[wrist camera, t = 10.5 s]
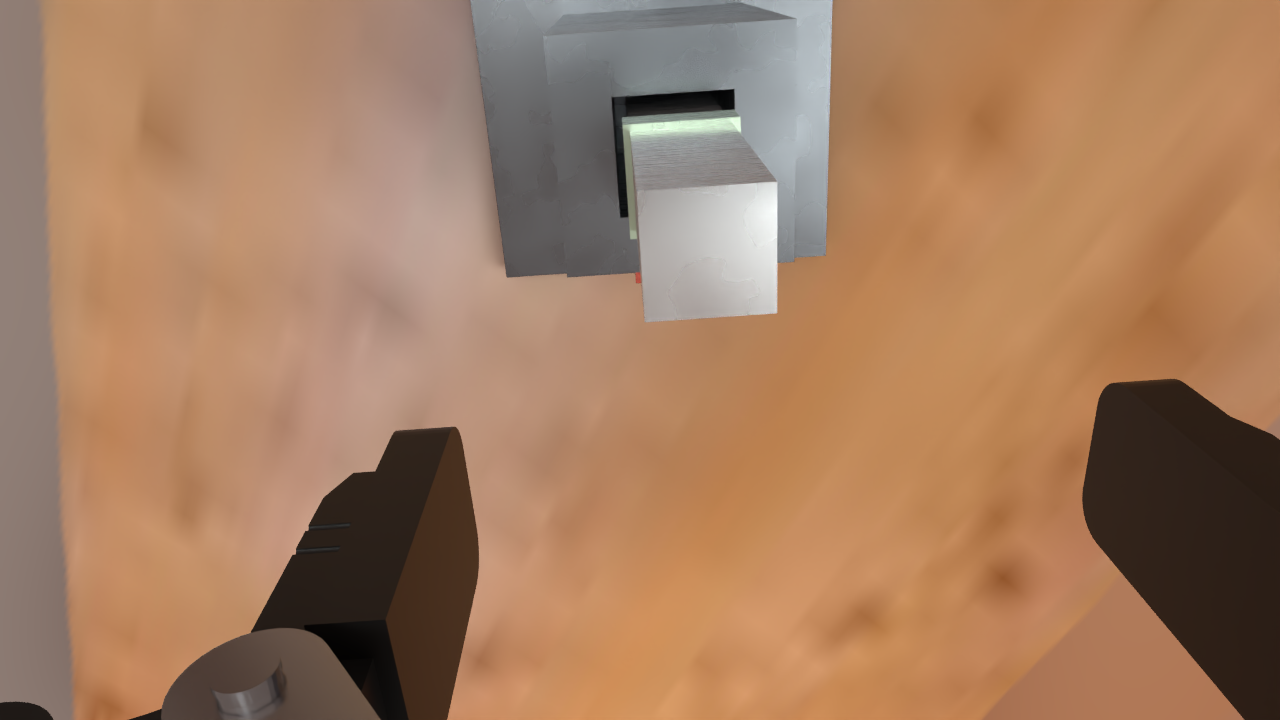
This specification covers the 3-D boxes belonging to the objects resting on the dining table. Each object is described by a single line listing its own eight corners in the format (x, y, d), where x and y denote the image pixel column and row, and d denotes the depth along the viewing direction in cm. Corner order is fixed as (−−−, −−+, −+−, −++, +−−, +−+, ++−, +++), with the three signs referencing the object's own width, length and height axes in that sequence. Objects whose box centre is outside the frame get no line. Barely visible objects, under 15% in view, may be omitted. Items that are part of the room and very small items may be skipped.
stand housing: (827, -103, 39) (933, -136, 26) (819, 246, 45) (900, 357, 33) (465, -78, 39) (393, -99, 26) (509, 267, 45) (470, 386, 33)
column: (704, 74, 35) (786, 171, 19) (707, 159, 36) (786, 320, 20) (619, 79, 35) (626, 182, 19) (625, 165, 36) (636, 330, 20)
